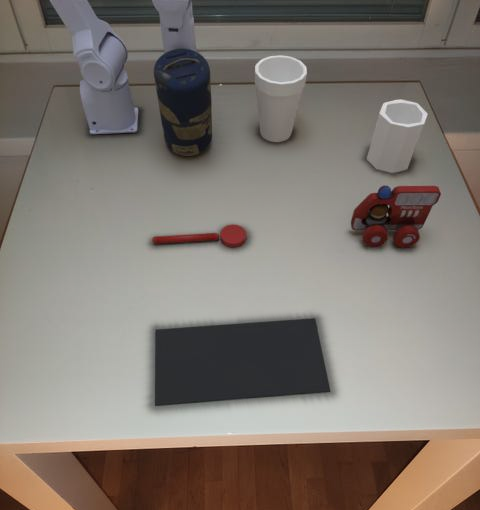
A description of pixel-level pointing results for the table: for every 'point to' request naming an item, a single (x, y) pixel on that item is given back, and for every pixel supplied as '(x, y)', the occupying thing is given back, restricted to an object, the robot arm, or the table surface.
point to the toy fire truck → (394, 214)
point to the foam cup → (278, 95)
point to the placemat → (238, 361)
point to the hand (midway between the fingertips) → (187, 117)
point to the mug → (396, 135)
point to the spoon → (209, 237)
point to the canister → (184, 100)
